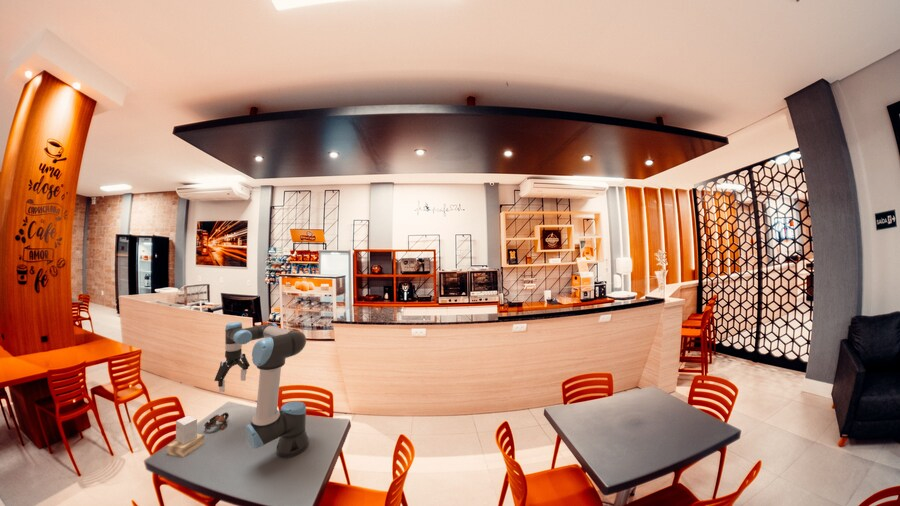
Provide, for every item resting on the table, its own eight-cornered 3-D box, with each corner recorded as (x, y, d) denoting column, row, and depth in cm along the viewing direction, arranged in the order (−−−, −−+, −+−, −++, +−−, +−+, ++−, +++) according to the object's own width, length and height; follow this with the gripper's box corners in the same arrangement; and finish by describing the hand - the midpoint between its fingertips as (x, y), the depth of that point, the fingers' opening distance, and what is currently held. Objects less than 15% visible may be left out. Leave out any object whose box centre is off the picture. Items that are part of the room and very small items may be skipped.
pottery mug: (220, 434, 157) (210, 423, 155) (207, 439, 158) (198, 429, 156) (236, 416, 168) (228, 406, 167) (224, 421, 170) (216, 411, 168)
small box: (196, 438, 146) (197, 419, 145) (183, 445, 140) (183, 425, 140) (189, 433, 149) (189, 414, 149) (175, 440, 144) (175, 420, 144)
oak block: (203, 443, 149) (204, 434, 149) (183, 457, 139) (183, 447, 139) (188, 441, 150) (188, 432, 150) (166, 455, 140) (167, 445, 140)
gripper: (246, 342, 173) (245, 375, 173) (206, 357, 148) (205, 396, 148) (256, 342, 172) (256, 376, 172) (218, 358, 147) (218, 397, 147)
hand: (232, 385), depth 160 cm, fingers open, 13 cm apart
